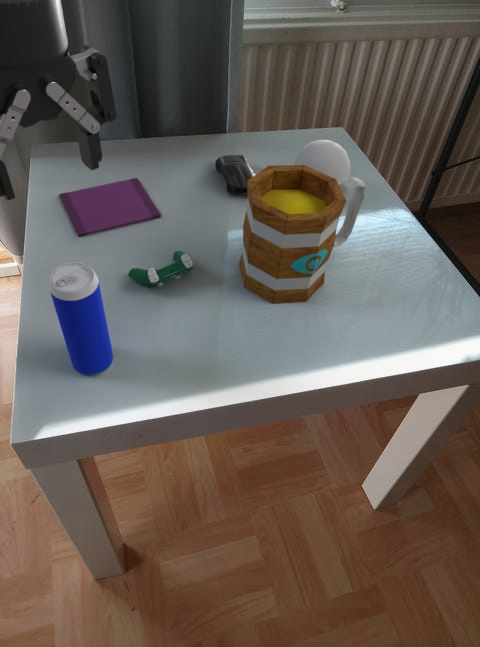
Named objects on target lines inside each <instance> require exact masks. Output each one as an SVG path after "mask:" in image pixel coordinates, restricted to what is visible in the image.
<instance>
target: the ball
mask: <svg viewBox="0 0 480 647" xmlns="http://www.w3.org/2000/svg"><path fill="white" fill-rule="evenodd" d="M293 165H305V166H308V167H310V168H312V169H314V170H317V171H319V172H321V173H323V174H326V175H328V176H330V177H332V178H335V179H336V180H337V183H338V185H339V184H340V183H342V182H343V181H345V180H346V179H348V178H349V177H350V175H351V162H350V158H349V155H348V152H346V150H345V149H344V148H343V147H342V146H341V145H340V144H339V143H337V142H335V141H333V140H330V139H329V140H328V139H318V140H314V141H311V142H309V143H307V144H306V145H304V146H303V147H302V148H301V149H300V151H299V152H298V154H297V155H296V157H295V159H294V163H293Z"/></svg>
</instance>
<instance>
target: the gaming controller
mask: <svg viewBox="0 0 480 647" xmlns="http://www.w3.org/2000/svg"><path fill="white" fill-rule="evenodd" d="M172 258H173V259H172V260H173V262H172V263H169V264H168V265H165V266H162V267H160V268H157V269H156V268H155V267H153V266H151V267H149V268H148V269H144V268H140V267H133V268H131V269H130V270H129V271H128V274H127V275H128V277H129V279H131V280H132V281H133V282H134V283H136V284H138V285H140V286H142V287H144V288H148V289H150V288H152V287H160V286H163V285H164V282H166V281H168V280H171V279H173V280H177V279H179V278H180V277H181V275H182V274H185V273H187V272H190V271H191V270H193V269H194V262H193V260H192V258H190V257H189V255H188V254H187V253H186V252H184V251H183V250H180V249H179V250H175V251H174V252H173V257H172Z"/></svg>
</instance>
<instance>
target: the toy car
mask: <svg viewBox="0 0 480 647" xmlns="http://www.w3.org/2000/svg"><path fill="white" fill-rule="evenodd" d="M214 166H215V171H216V172H219V173H220V175H221V176H222V178H223V180H224V182H225V184H226V191H227V192H228V193H229V194H230V193H232V194H236V195H248V193H247V181H248V180H249V179H250V178H252V177H253V176H255V175H256V174H257V173H255V172H254V170H253V169H252V168H251V166H250V164H249V162H248V160H247V157H246V156H245V155H242V154H228V155H227V154H226V155H222V156H220V157H219V156H218V158H217V159H216V160H215V165H214Z"/></svg>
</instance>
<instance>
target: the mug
mask: <svg viewBox="0 0 480 647" xmlns="http://www.w3.org/2000/svg"><path fill="white" fill-rule="evenodd" d="M255 174H256V175H255V176H253V177H252V178H250V179H249V180H248V181H247V186H246V187H247V193H248V194H247V199H246V211H245V215H244V221H243V225H242V249H241V255H240V259H239V263H238V266H239V270H240V275H241V280H242V284H243V288H244V289H245V290H248V291H250V292H251V293H253V294H255V295H256V296H258V297H260V298H262V299H263V300H265V301H267V302H269V303H270V304H287V303H304V302H305V303H306V302H308V301H309V299H311V297H312V296H313V295H315V293H316V292H317V291H318V290H319V289H320V288H321V287H322V286H323V285H325V284H324V283H325V277H326V269H327V267H328V266H327V265H328V261H329V259H330V256H331V254H332V251H333V249H334V248H338V247H339V246H341V245H343V244H344V243H345V242H347V241H348V238H349V237H350V235H351V234H352V232H353V229H354V227H355V224H356V221H357V218H358V215H359V211H360V209H361V206H362V205H363V201H364V199H365V196H366V183H365V182H364V181H363V180H362V179H360V178H356V177H352V176H349V178H348V179H346V180H345V181H343V182H342V183H340V184H339V185H338V183H337V180H336V179H335V178H332V177H330V176H328V175H326V174H323V173H321V172H319V171H317V170H314V169H312V168H310V167H308V166H305V165H294V164H290V165H289V164H287V165H282V164H281V165H280V164H279V165H267V166H266V167H264V168H263V169H262V170H260V171H259V172H257V173H255ZM352 191H353V194H352V197H351V199H350V202H349V204H348V207H347V210H346V213H345V217H344V220H343V223H342V226H341V227H340V228H339V231H337V229H338V225H339V221H340V217H341V215H342V213H343V210H344V208H345V205H346V203H347V200H346V198H345V197H346V196H347V195H348V194H349V193H350V192H352Z"/></svg>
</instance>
